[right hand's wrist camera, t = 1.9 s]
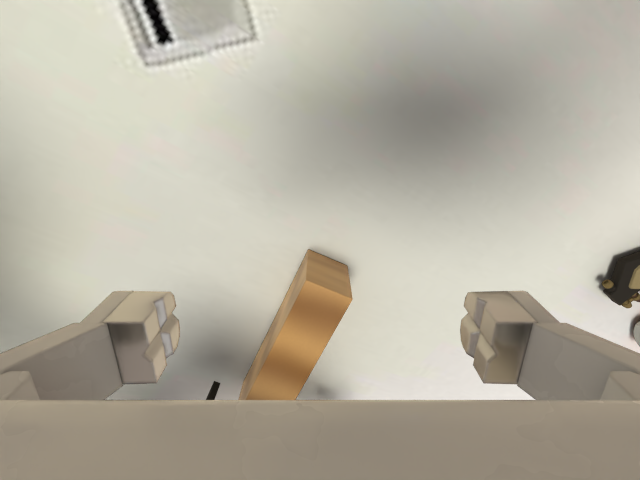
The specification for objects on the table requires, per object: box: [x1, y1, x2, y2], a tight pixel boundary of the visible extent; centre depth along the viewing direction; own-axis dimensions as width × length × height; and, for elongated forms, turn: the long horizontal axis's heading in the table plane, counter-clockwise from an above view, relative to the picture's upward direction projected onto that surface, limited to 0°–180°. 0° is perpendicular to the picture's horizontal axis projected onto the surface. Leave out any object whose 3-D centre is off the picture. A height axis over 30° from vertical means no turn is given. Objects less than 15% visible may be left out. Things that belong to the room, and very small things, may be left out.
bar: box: [239, 249, 352, 400], centre depth 45 cm, size 23×5×8 cm, turn 155°
